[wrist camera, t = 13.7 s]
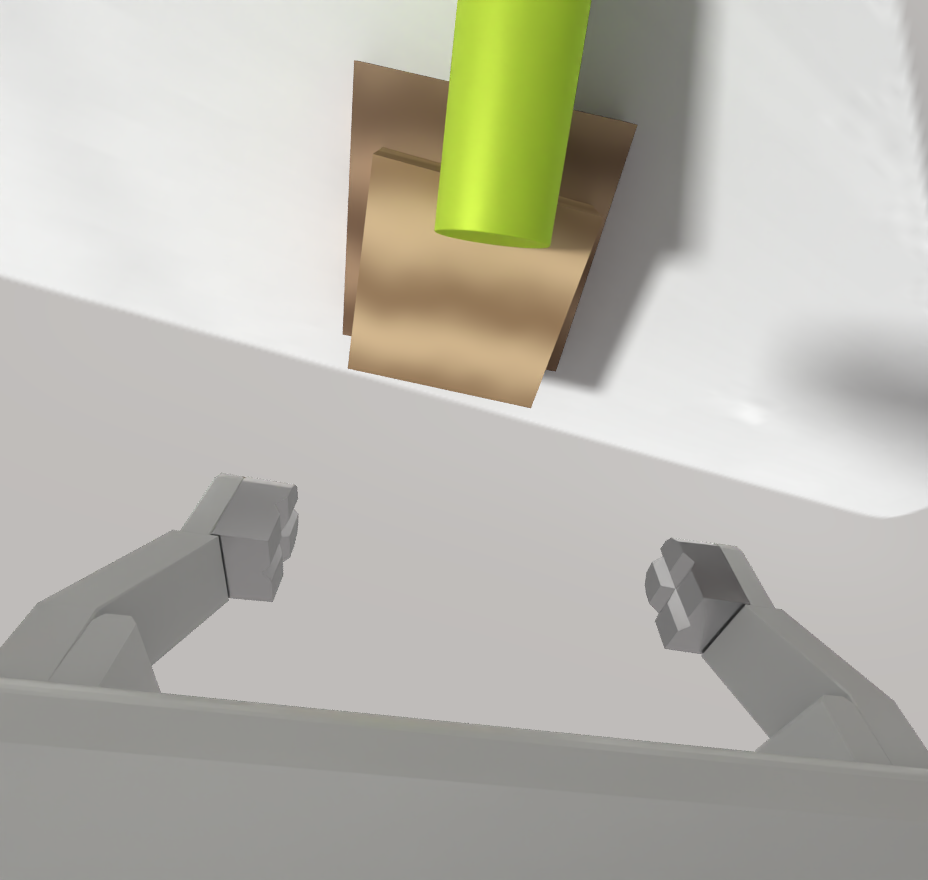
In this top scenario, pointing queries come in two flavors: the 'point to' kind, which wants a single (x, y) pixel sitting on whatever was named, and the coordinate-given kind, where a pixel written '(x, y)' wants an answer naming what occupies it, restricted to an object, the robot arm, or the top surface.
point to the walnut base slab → (421, 134)
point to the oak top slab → (459, 291)
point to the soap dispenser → (509, 119)
